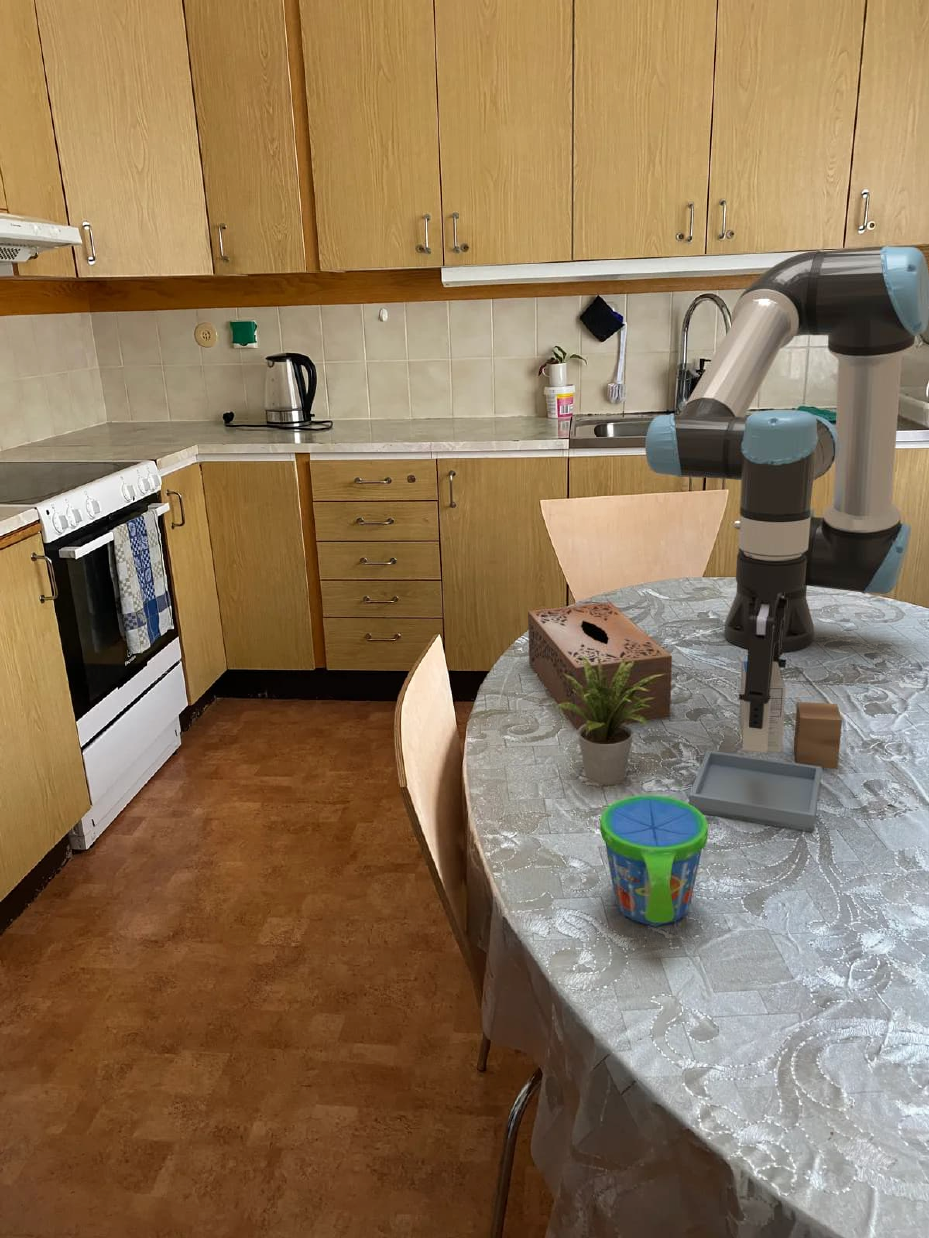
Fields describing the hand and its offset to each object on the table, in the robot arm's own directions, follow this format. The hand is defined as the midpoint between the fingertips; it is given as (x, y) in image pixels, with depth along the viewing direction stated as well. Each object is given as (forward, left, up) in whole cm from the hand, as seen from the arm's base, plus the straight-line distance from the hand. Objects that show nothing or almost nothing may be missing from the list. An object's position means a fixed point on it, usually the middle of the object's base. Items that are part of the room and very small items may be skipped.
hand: (759, 732), depth 113 cm
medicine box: (0, 0, -1) cm, 1 cm away
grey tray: (0, 0, -9) cm, 9 cm away
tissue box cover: (-26, -28, -9) cm, 39 cm away
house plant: (+2, -18, -9) cm, 20 cm away
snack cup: (+26, -7, -9) cm, 28 cm away
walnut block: (-13, +6, -9) cm, 17 cm away
